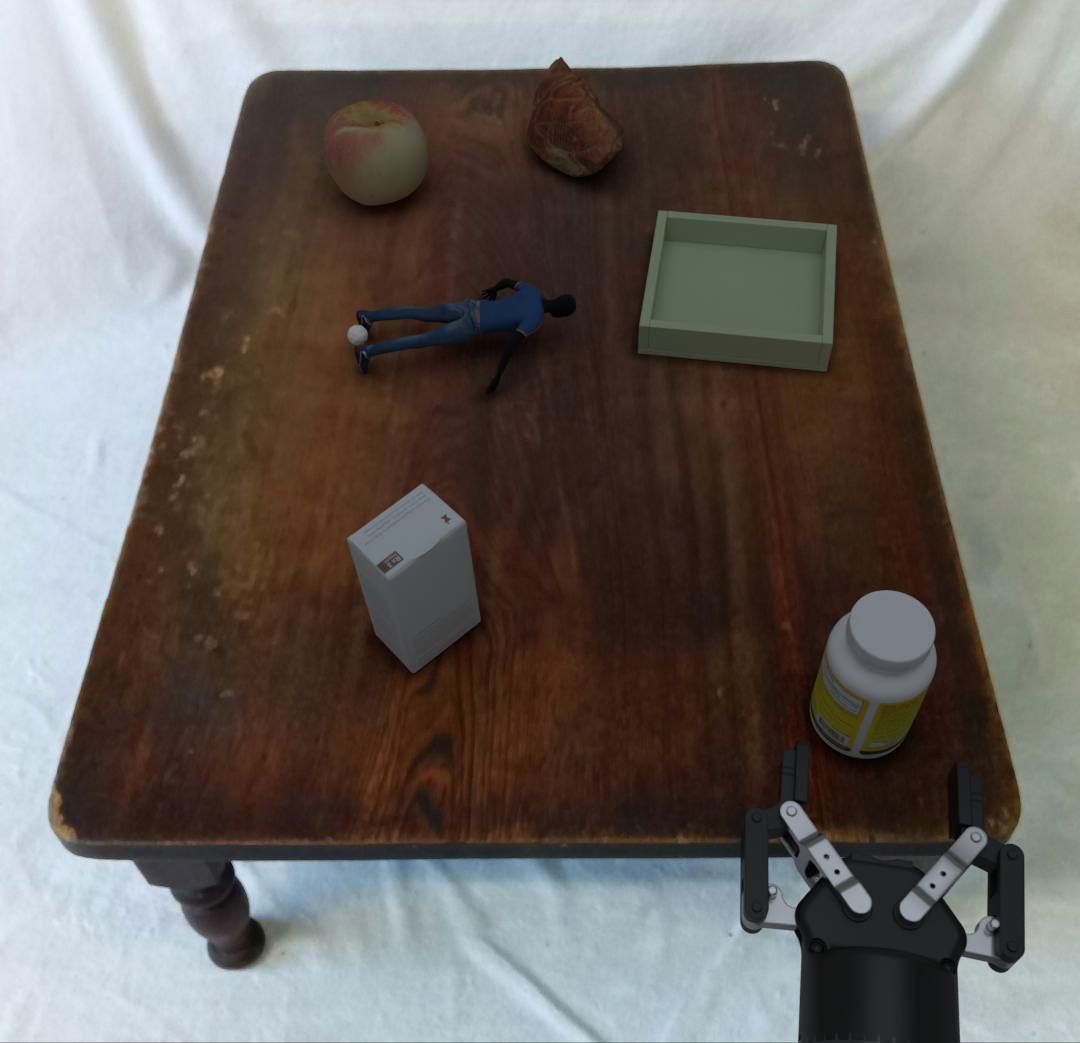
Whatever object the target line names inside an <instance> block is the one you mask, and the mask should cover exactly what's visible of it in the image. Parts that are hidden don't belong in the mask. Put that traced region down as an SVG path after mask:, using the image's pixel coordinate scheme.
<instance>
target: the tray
mask: <svg viewBox="0 0 1080 1043" xmlns="http://www.w3.org/2000/svg"><path fill="white" fill-rule="evenodd" d="M837 237H838V225H837V224H831V223H821V222H820V223H819V222H809V221H796V220H784V219H772V218H771V219H770V218H759V217H748V216H747V217H746V216H737V215H736V216H735V215H734V216H733V215H723V214H713V213H711V214H710V213H699V212H698V213H697V212H687V211H674V210H661V209H660V210H658V211H657V216H656V222H655V227H654V233H653V240H652V246H651V252H650V258H649V264H648V270H647V276H646V282H645V288H644V294H643V298H642V299H643V300H642V305H641V311H640V318H639V324H638V339H637V340H638V341H637V342H638V343H637V354H638V355H639V354H640V355H650V356H658V357H659V356H660V357H671V358H681V359H691V360H701V361H711V362H722V363H729V364H730V363H731V364H742V365H751V366H753V365H754V366H761V367H762V366H763V367H772V368H783V369H793V370H803V371H814V372H822V373H823V372H824V373H827V371H828V367H829V363H830V358H831V353H832V350H833V345H834V327H835V325H834V324H835V298H836V293H835V292H836V269H837V268H836V266H837Z"/></svg>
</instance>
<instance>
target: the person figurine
mask: <svg viewBox="0 0 1080 1043" xmlns="http://www.w3.org/2000/svg"><path fill="white" fill-rule="evenodd" d="M507 288H508V289H511V290H514V291H515V293H514V294H512V295H510V296H507V297H504V298H501V299H498V300H496V299H497V294H498V292H499V291H502V290H505V289H507ZM480 295H481V297H482V296H483V299H480V300H479V299H476V298H471V297H470V298H466V299H464V300H462V301H450V302H443V303H440V304H437V305H434V306H426V307H425V306H424V307H421V306H416V305H415V306H413V305H399V306H392V307H387V308H381V309H376V310H370V311H369V310H368V309H359V310H357V311H356V312H355V313H356V314H355V317H356V318H355V319H356V321H357V323H358V324H354V325H352V326H350V327H349V329H348V331H347V333H346V335H347V336H346V337H347V340H348V341H349V343H350V344H352V345H353V346H354V347H353V348H354V355H355V359H356V362H357V365H358V368H359V371H360V372H361V373H362V374H366V373H367V372H368V370H369V364H370V360H371V359H372V358H373V357H376V356H380V355H385V354H390V353H391V354H392V353H396V352H401V351H406V350H407V351H408V350H418V349H424V348H428V347H429V348H430V347H435V346H442V347H446V346H452V345H453V346H454V345H457V344H462V343H464V342H467V341H471V340H472V339H474V338H476V337H479V336H483V335H489V334H493V333H499V332H506V333H513V334H512V335H511V336H510V337H509V338H508V339H507V341H506V342H505V345H504V348H503V350H502V352H501V355H500V359H499V362H498V366H497V370H496V373H495V376H494V377H493V378H492V379H491V382H490V384H489V386H487V387H486V388H485V391H486V390H487V391H486V392H485V394H486V395H487V396H489V395H490V394H493V393H494V392H495V391H496V389H497V387H498V386H499V383H500V382H501V378H502V376H503V374H504V372H505V370H506V367H507V366H508V364H509V362H510V360H511V358H512V356H513V354H514V351H515V350H516V348H517V347H518V346H519V345H520V344H521V343H522V342H523V341H524V340H525V339H526V338H527V337H529V336H531V335H533V334H534V333H536V332H537V331H539V330H540V328H541V326H542V324H543V319H544V315H545V314H549V315H550V316H551V317H552V318H556V319H559V318H560V319H561V318H568V317H571V316H572V315H573V314H574V313H575V312H576V310H577V301H576V298H575V297H574V296H573V295H572V294H569V293H563V294H560V295H558V296H557V297H556V298H554V299H547V298H545V297H544V295H543V294H542V292H541V291H540V290H539V289H538V287H537V286H535V285H534V284H531V283H527V282H523V281H519V280H515V279H512V278H509V277H505V278H502V279H500V280H499V281H498V282H497V283H496V284H494V285H493V286H490V287H488V288H486V289H483V290H481V294H480ZM400 320H415V321H419V322H423V323H434V324H435V323H436V324H443V325H440V326H438V327H436V328H433V329H432V330H427V331H425V332H422V333H418V334H413V335H405V336H402V337H397V338H394V339H390V340H387V341H383V342H380V343H375V344H371V345H364V344H365V343H367V341H368V339H369V337H370V331H371V328H372V326H373V324H374V323H377V322H383V321H400Z"/></svg>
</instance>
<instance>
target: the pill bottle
mask: <svg viewBox="0 0 1080 1043" xmlns="http://www.w3.org/2000/svg"><path fill="white" fill-rule="evenodd" d="M936 631H937V630H936V625H935V621H934V619H933V616H932V614H931V612H930V611H929V610H928V608H927V607H926V606H925V605H924V604H923V603H922V602H920V601H919V600H917V598H915V597H913V596H911V595H910V594H907V593H903V592H901V591H898V590H897V591H896V590H890V589H889V590H888V589H886V590H885V589H884V590H881V589H880V590H876V591H872V592H870V593H867V594H865V595H863V596H862V597H861V598H859V599H858V600H857V602H855V603H854V605H853V606H852V608H851V610H850V612H848V613H846V614H844V615H843V616H842V617H841V618H840V619H839V620H838V621H837V622H836V624H835V625H834V626H833V627H832V629H831V631H830V633H829V636H828V638H827V641H826V645H825V648H824V652H823V655H822V658H821V662H820V665H819V669H818V671H817V676H816V678H815V681H814V686H813V687H812V688H813V689H812V692H811V696H810V699H809V715H810V720H811V723H812V726H813V728H814V731H815V732H816V733H817V735H818V736H819V737H820V738H821V740H822V741H823V742H824V743H825V744H826V745H827V746H829V747H830V748H832V749H833V750H835V751H836V752H838V753H840V754H841V755H845V756H847V757H851V758H855V759H861V760H862V759H865V760H866V759H867V760H869V759H877V758H881V757H883V756H886V755H889V753H891V752H893V751H895V750H896V749H898V747H899V746H900V745H901V744H902V743H903V741H904V740H905V739H906V737H907V735H908V733H909V731H910V729H911V727H912V726H913V723H914V720H915V718H916V717H917V714H918V712H919V710H920V708H921V706H922V703H923V702H924V699H925V697H926V695H927V692H928V690H929V688H930V686H931V683H932V681H933V679H934V677H935V673H936V669H937V664H938V663H937V662H938V656H937V650H936V645H935V643H934V642H935V640H936Z"/></svg>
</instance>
